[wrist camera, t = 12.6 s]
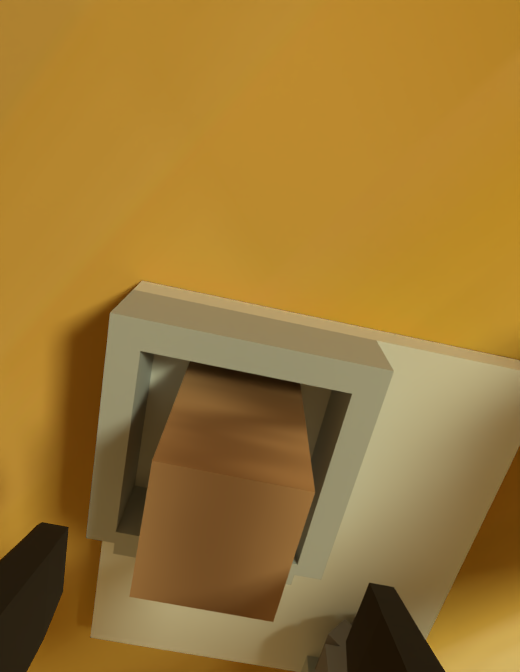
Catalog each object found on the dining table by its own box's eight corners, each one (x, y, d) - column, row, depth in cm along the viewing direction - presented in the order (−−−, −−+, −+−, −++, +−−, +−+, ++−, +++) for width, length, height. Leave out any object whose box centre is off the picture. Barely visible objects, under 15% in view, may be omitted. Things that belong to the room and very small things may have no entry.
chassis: (535, 363, 18) (638, 444, 13) (395, 664, 24) (429, 799, 19) (141, 280, 17) (89, 333, 12) (98, 614, 23) (51, 742, 18)
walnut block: (299, 381, 17) (315, 492, 12) (271, 482, 19) (273, 622, 13) (190, 359, 17) (152, 460, 11) (171, 462, 19) (129, 596, 13)
